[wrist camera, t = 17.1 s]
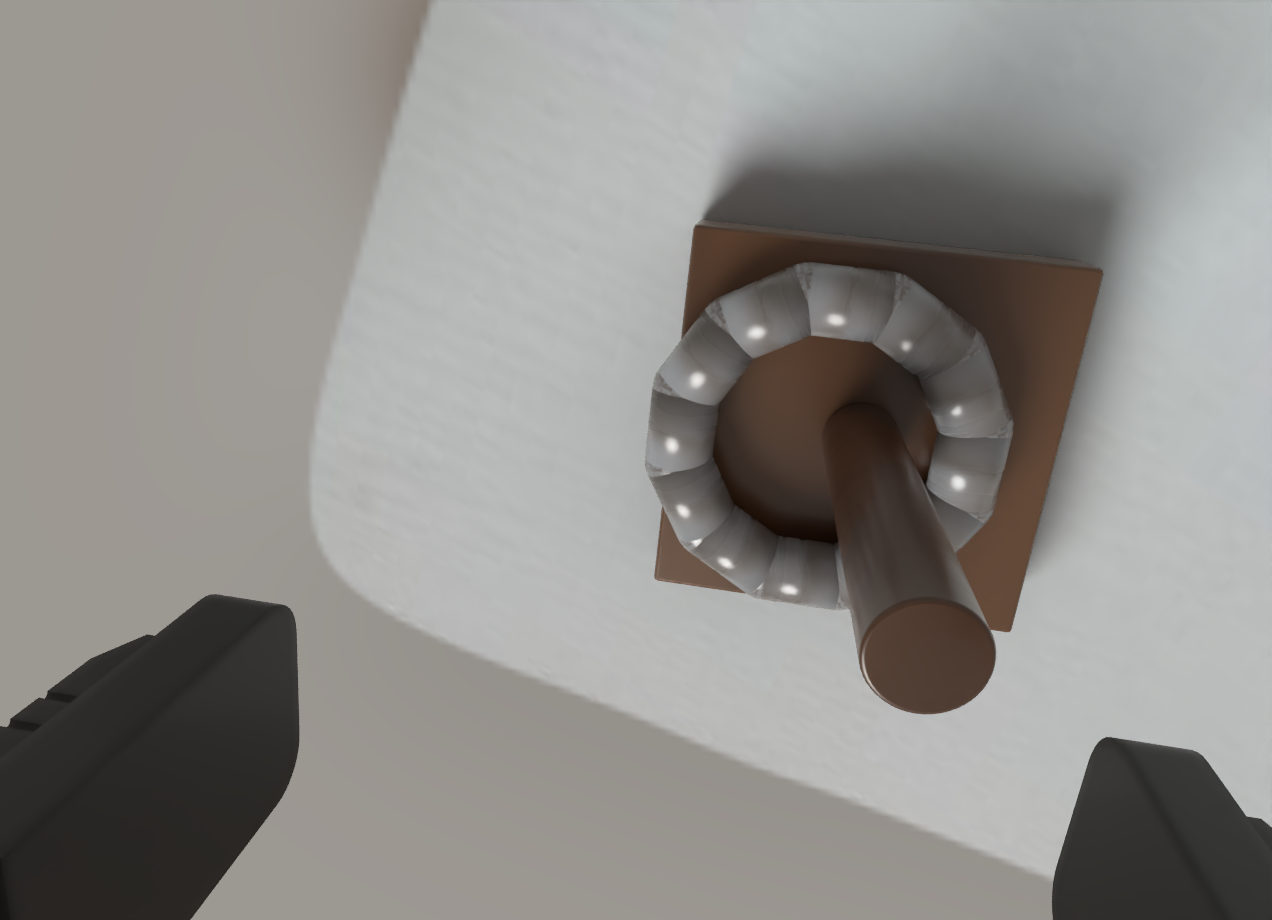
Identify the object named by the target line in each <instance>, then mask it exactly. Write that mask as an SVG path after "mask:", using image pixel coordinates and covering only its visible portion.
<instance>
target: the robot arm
mask: <svg viewBox="0 0 1272 920" xmlns="http://www.w3.org/2000/svg"><path fill="white" fill-rule="evenodd" d="M297 669H298V667H297V633H296V623H295V618H294V615H293V613H292V611H291V610H290V608H288V607H287V606H285V605H280V604H274V603H268V602H261V601H255V600H249V599H242V598H236V597H230V596H223V595H217V594H214V595H208V596H206V597H204V598H203V599H201V600H200V601H198V602H197V603H196V604H195V605H193V606H192V607H191V608H190V609H189V610H187V611H186V612H185V613H183V614H182V615H181V616H179V617H178V618H177V619H176V620H174V621H173V622H172V623H171V624H169V626H167V627H166V628H164V629H163V630H162V631H160V632H159V633H158V634H157V635H155V636H152V635H145V636H143V637H140V638H138V639H136V640H133V641H131V642H129V643H126V644H124V645H122V646H119V647H117V648H115V649H112V650H110V651H108V652H105V653H103V654H101V655H98V656H96V657H94V658H91V659H90V660H88V661H87V662H86V663H84V664H83V665H82V666H80V667H79V668H78V669H76V670H75V671H74V672H72V673H71V674H70V675H68V676H67V677H66V678H65V679H63V680H62V681H60V682H59V683H58V684H56V685H55V686H54V687H52V688H51V689H50V690H48V693H47V696H46V698H45V699H43V698H38V699H36V700H35V701H34V702H32V703H31V704H30V705H28V706H27V707H26V708H24V709H23V710H22V711H20V712H19V713H18V714H16V715H15V716H14V717H12V718H11V719H10V724H9V726H8V727H2V726H0V920H190V919H191V918H192V917H193V915H194V914H195V913H196V911H197V910H198V909H199V908H200V906H201V905H202V904H203V902H204V901H205V900H206V898H207V897H208V896H209V894H210V893H211V892H212V890H213V889H214V888H215V886H216V885H217V884H218V882H219V881H220V880H221V878H222V877H223V876H224V874H225V873H226V872H227V870H228V869H229V868H230V866H231V865H232V864H233V862H234V861H235V860H236V858H237V857H238V856H239V854H240V853H241V852H242V850H243V849H244V848H245V846H246V845H247V844H248V842H249V841H250V840H251V839H252V837H253V836H254V835H255V833H256V832H257V831H258V829H259V828H260V827H261V825H262V824H263V823H264V821H265V820H266V819H267V817H268V816H269V815H270V813H271V812H272V811H273V809H274V808H275V807H276V805H277V804H278V802H279V801H280V799H281V798H282V796H283V794H284V792H285V791H286V788H287V786H288V784H289V781H290V779H291V776H292V773H293V770H294V767H295V762H296V759H297V753H298V748H299V704H298V670H297ZM1052 894H1053V895H1052V913H1053V920H1272V827H1270V826H1269V825H1268V824H1267V823H1265V822H1264V821H1263V820H1262V819H1258V818H1252V817H1246V815H1245V814H1244V812H1243V811H1242V810H1241V808H1240V807H1239V805H1238V804H1237V803H1236V801H1235V800H1234V798H1233V797H1232V796H1231V794H1230V793H1229V791H1228V790H1227V789H1226V787H1225V786H1224V784H1223V783H1222V782H1221V780H1220V779H1219V777H1218V776H1217V774H1216V773H1215V772H1214V770H1213V769H1212V767H1211V766H1210V765H1209V763H1208V762H1207V761H1206V759H1205V758H1204V757H1203V756H1202V755H1201V754H1199V753H1198V752H1196V751H1193V750H1188V749H1181V748H1175V747H1169V746H1162V745H1156V744H1150V743H1143V742H1137V741H1131V740H1124V739H1118V738H1112V737H1106V738H1104V739H1102V740H1101V741H1099V742H1098V744H1097V745H1096V746H1095V748H1094V750H1093V752H1092V754H1091V757H1090V759H1089V762H1088V766H1087V769H1086V772H1085V775H1084V779H1083V782H1082V785H1081V788H1080V792H1079V795H1078V798H1077V801H1076V805H1075V808H1074V811H1073V815H1072V818H1071V821H1070V824H1069V828H1068V831H1067V834H1066V837H1065V841H1064V844H1063V847H1062V851H1061V854H1060V857H1059V860H1058V864H1057V867H1056V871H1055V876H1054V882H1053V892H1052Z"/></svg>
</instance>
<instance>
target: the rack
mask: <svg viewBox="0 0 1272 920" xmlns="http://www.w3.org/2000/svg"><path fill="white" fill-rule="evenodd" d="M804 262H815V263H824V264H833V265H841V266H850V267H859V268H868V269H877V270H885V271H894V272H899V273H902V274H904V275H907V276H909V277H910V278H911V279H913V280H914V281H915V282H917V283H918V284H919V285H921V286H922V287H923V288H925V289H926V290H927V291H928V292H930V293H931V294H932V295H934V296H935V297H936V298H938V299H939V300H940V301H941V302H943V303H944V304H945V305H947V306H948V307H949V308H951V309H952V310H953V311H954V312H956V313H957V314H958V315H960V316H961V317H962V318H964V319H965V320H966V321H967V322H969V323H970V324H971V325H973V326H974V327H975V328H976V329H977V330H979V332H980V333H981V334H982V335H983V337H984V339H985V341H986V343H987V346H988V349H989V352H990V354H991V357H992V360H993V363H994V366H995V369H996V371H997V374H998V377H999V380H1000V383H1001V386H1002V388H1003V391H1004V394H1005V397H1006V400H1007V403H1008V405H1009V408H1010V411H1011V414H1012V418H1013V422H1014V430H1013V436H1012V440H1011V444H1010V448H1009V453H1008V457H1007V461H1006V465H1005V469H1004V473H1003V477H1002V482H1001V486H1000V490H999V494H998V498H997V502H996V506H995V509H994V512H993V515H992V516H991V518H990V519H989V521H988V522H987V523H986V524H985V525H984V526H983V527H982V528H981V529H980V530H979V531H978V532H977V533H976V534H975V535H974V536H973V537H972V538H971V539H970V540H969V541H968V543H967V544H966V545H965V546H964V547H963V548H962V549H961V550H960V551H959V552H958V553H957V554H955V551H954V549H953V547H952V545H951V543H950V540H949V538H948V536H947V534H946V532H945V529H944V527H943V525H942V523H941V521H940V519H939V516H938V514H937V512H936V510H935V508H934V505H933V503H932V501H931V499H930V497H929V494H928V492H927V490H926V488H925V486H924V485H925V484H926V482H927V477H928V473H929V468H930V463H931V458H932V454H933V449H934V444H935V440H936V435H937V427H936V424H935V422H934V419H933V416H932V414H931V411H930V408H929V406H928V403H927V400H926V398H925V395H924V392H923V390H922V387H921V384H920V382H919V379H918V378H917V377H916V376H915V375H913V374H912V373H911V372H909V371H908V370H907V369H905V368H904V367H903V366H901V365H900V364H899V363H897V362H896V361H895V360H894V359H892V358H891V357H890V356H888V355H887V354H886V353H884V352H883V351H882V350H880V349H879V348H878V347H876V346H875V345H874V344H872V343H868V342H859V341H851V340H843V339H835V338H826V337H818V336H809V337H807V338H804V339H802V340H799V341H797V342H794V343H792V344H789V345H787V346H784V347H782V348H780V349H777V350H775V351H772V352H770V353H767V354H765V355H762V356H760V357H757V358H755V359H754V360H753V362H752V363H751V364H750V365H749V367H748V368H747V369H746V370H745V372H744V373H743V374H742V375H741V377H740V378H739V379H738V381H737V382H736V383H735V384H734V386H733V387H732V388H731V389H730V391H729V392H728V393H727V394H726V396H725V397H724V398H723V400H722V401H721V402H720V403H719V411H718V419H717V426H716V434H715V441H714V449H713V458H714V460H715V462H716V465H717V467H718V469H719V472H720V474H721V476H722V478H723V481H724V483H725V485H726V487H727V490H728V492H729V494H730V496H731V499H732V501H733V503H734V504H735V505H736V506H738V507H739V508H740V509H742V510H743V511H744V512H746V513H747V514H749V515H750V516H751V517H753V518H754V519H755V520H757V521H758V522H759V523H761V524H762V525H764V526H765V527H766V528H768V529H769V530H770V531H772V532H773V533H775V534H776V535H777V536H784V537H791V538H798V539H805V540H812V541H819V542H826V543H833V544H834V543H837V542H839V547H840V553H841V559H842V565H843V571H844V576H845V582H846V588H847V594H848V600H849V605H850V608H849V609H850V611H851V617H852V623H853V629H854V635H855V640H856V646H857V652H858V658H859V664H860V669H861V672H862V675H863V677H864V679H865V681H866V683H867V684H868V685H869V687H870V688H871V689H872V690H873V692H874V693H875V694H876V695H877V696H879V697H880V698H881V699H882V700H884V701H885V702H887V703H888V704H890V705H892V706H894V707H896V708H898V709H901V710H904V711H907V712H911V713H917V714H937V713H943V712H947V711H951V710H953V709H956V708H959V707H961V706H963V705H965V704H966V703H968V702H969V701H971V700H972V699H973V698H975V697H976V696H977V695H978V694H979V693H980V692H981V691H982V690H983V689H984V687H985V686H986V684H987V683H988V681H989V679H990V677H991V675H992V673H993V670H994V667H995V661H996V646H995V641H994V638H993V635H992V633H991V630H996V631H1003V632H1010V631H1011V629H1012V625H1013V621H1014V617H1015V613H1016V610H1017V606H1018V602H1019V598H1020V594H1021V590H1022V586H1023V582H1024V579H1025V575H1026V571H1027V567H1028V563H1029V559H1030V555H1031V552H1032V548H1033V544H1034V540H1035V536H1036V532H1037V528H1038V524H1039V521H1040V517H1041V513H1042V509H1043V505H1044V501H1045V497H1046V494H1047V490H1048V486H1049V482H1050V478H1051V474H1052V470H1053V466H1054V463H1055V459H1056V455H1057V451H1058V447H1059V443H1060V439H1061V435H1062V432H1063V428H1064V424H1065V420H1066V416H1067V412H1068V408H1069V405H1070V401H1071V397H1072V393H1073V389H1074V385H1075V381H1076V377H1077V374H1078V370H1079V366H1080V362H1081V358H1082V354H1083V350H1084V347H1085V343H1086V339H1087V335H1088V331H1089V327H1090V323H1091V319H1092V316H1093V312H1094V308H1095V304H1096V300H1097V296H1098V292H1099V288H1100V285H1101V281H1102V277H1103V270H1102V269H1100V268H1097V267H1094V266H1092V265H1089V264H1086V263H1083V262H1081V261H1077V260H1068V259H1058V258H1049V257H1040V256H1031V255H1022V254H1013V253H1004V252H994V251H985V250H976V249H967V248H958V247H949V246H940V245H930V244H921V243H912V242H903V241H894V240H885V239H876V238H866V237H857V236H848V235H839V234H830V233H821V232H811V231H802V230H793V229H784V228H775V227H766V226H757V225H747V224H738V223H729V222H720V221H711V220H700V221H699V222H698V223H697V224H696V225H695V227H694V229H693V238H692V247H691V256H690V265H689V274H688V282H687V291H686V300H685V309H684V318H683V327H682V336H681V340H682V338H683V337H684V336H685V334H686V333H687V332H688V330H689V329H690V328H691V326H692V325H693V324H694V322H695V321H696V320H697V318H698V317H699V316H700V314H701V313H702V312H703V310H704V309H705V308H706V307H707V306H708V305H709V304H710V303H711V302H712V301H713V300H715V299H716V298H719V297H720V296H723V295H725V294H727V293H730V292H732V291H734V290H737V289H739V288H741V287H744V286H746V285H748V284H751V283H753V282H755V281H758V280H760V279H762V278H765V277H767V276H769V275H772V274H774V273H776V272H779V271H781V270H783V269H786V268H788V267H790V266H793V265H795V264H798V263H804ZM654 576H655V579H656V580H659V581H666V582H673V583H679V584H686V585H693V586H699V587H706V588H713V589H720V590H726V591H733V592H740V593H745V592H744V591H742V590H741V589H740V588H738V587H737V586H736V585H734V584H733V583H731V582H730V581H729V580H727V579H726V578H725V577H723V576H722V575H720V574H719V573H718V572H716V571H715V570H713V569H712V568H711V567H709V566H708V565H707V564H705V563H704V562H702V561H701V560H700V559H698V558H697V557H695V556H694V555H693V554H691V553H690V552H689V551H687V550H686V549H685V548H684V547H683V546H682V545H681V543H680V542H679V540H678V538H677V536H676V534H675V532H674V530H673V527H672V525H671V523H670V521H669V519H668V517H667V514H666V512H665V510H664V508H663V506H662V513H661V522H660V531H659V539H658V548H657V557H656V566H655V575H654Z"/></svg>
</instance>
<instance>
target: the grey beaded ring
mask: <svg viewBox="0 0 1272 920" xmlns="http://www.w3.org/2000/svg"><path fill="white" fill-rule="evenodd" d="M809 336H818V337H826V338H835V339H843V340H851V341H859V342H868V343H872V344H874V345H875V346H876V347H878V348H879V349H880V350H882V351H883V352H884V353H886V354H887V355H888V356H890V357H891V358H892V359H894V360H895V361H896V362H897V363H899V364H900V365H901V366H903V367H904V368H905V369H907V370H908V371H909V372H911V373H912V374H913V375H915V376H916V377H917V378H918V379H919V382H920V384H921V387H922V390H923V392H924V395H925V398H926V400H927V403H928V406H929V408H930V411H931V414H932V416H933V419H934V422H935V424H936V427H937V435H936V440H935V444H934V449H933V454H932V458H931V463H930V468H929V473H928V477H927V482H926V484H925V485H924V486H925V488H926V490H927V492H928V494H929V497H930V499H931V501H932V503H933V505H934V508H935V510H936V512H937V514H938V516H939V519H940V521H941V523H942V525H943V527H944V529H945V532H946V534H947V536H948V538H949V540H950V543H951V545H952V547H953V549H954V551H955V554H957V553H958V552H959V551H960V550H961V549H962V548H963V547H964V546H965V545H966V544H967V543H968V541H969V540H970V539H971V538H972V537H973V536H974V535H975V534H976V533H977V532H978V531H979V530H980V529H981V528H982V527H983V526H984V525H985V524H986V523H987V522H988V521H989V519H990V518H991V516H992V515H993V512H994V509H995V506H996V502H997V498H998V494H999V490H1000V486H1001V482H1002V477H1003V473H1004V469H1005V465H1006V461H1007V457H1008V453H1009V448H1010V444H1011V440H1012V436H1013V430H1014V422H1013V418H1012V414H1011V411H1010V408H1009V405H1008V403H1007V400H1006V397H1005V394H1004V391H1003V388H1002V386H1001V383H1000V380H999V377H998V374H997V371H996V369H995V366H994V363H993V360H992V357H991V354H990V352H989V349H988V346H987V343H986V341H985V339H984V337H983V335H982V334H981V333H980V332H979V330H977V329H976V328H975V327H974V326H973V325H971V324H970V323H969V322H967V321H966V320H965V319H964V318H962V317H961V316H960V315H958V314H957V313H956V312H954V311H953V310H952V309H951V308H949V307H948V306H947V305H945V304H944V303H943V302H941V301H940V300H939V299H938V298H936V297H935V296H934V295H932V294H931V293H930V292H928V291H927V290H926V289H925V288H923V287H922V286H921V285H919V284H918V283H917V282H915V281H914V280H913V279H911V278H910V277H909V276H907V275H904V274H902V273H899V272H894V271H885V270H877V269H868V268H859V267H850V266H841V265H833V264H824V263H815V262H804V263H798V264H795V265H793V266H790V267H788V268H786V269H783V270H781V271H779V272H776V273H774V274H772V275H769V276H767V277H765V278H762V279H760V280H758V281H755V282H753V283H751V284H748V285H746V286H744V287H741V288H739V289H737V290H734V291H732V292H730V293H727V294H725V295H723V296H720V297H719V298H716V299H715V300H713V301H712V302H711V303H710V304H709V305H708V306H707V307H706V308H705V309H704V310H703V312H702V313H701V314H700V316H699V317H698V318H697V320H696V321H695V322H694V324H693V325H692V326H691V328H690V329H689V330H688V332H687V333H686V334H685V336H684V337H683V338H682V340H681V341H680V342H679V344H678V345H677V346H676V348H675V349H674V350H673V352H672V353H671V354H670V356H669V357H668V358H667V360H666V361H665V362H664V364H663V365H662V366H661V368H660V369H659V371H658V372H657V374H656V376H655V379H654V383H653V389H652V398H651V408H650V417H649V427H648V436H647V446H646V455H645V466H646V470H647V473H648V476H649V478H650V480H651V482H652V484H653V486H654V489H655V491H656V493H657V495H658V497H659V499H660V501H661V504H662V506H663V508H664V510H665V512H666V514H667V517H668V519H669V521H670V523H671V525H672V527H673V530H674V532H675V534H676V536H677V538H678V540H679V542H680V543H681V545H682V546H683V547H684V548H685V549H686V550H687V551H689V552H690V553H691V554H693V555H694V556H695V557H697V558H698V559H700V560H701V561H702V562H704V563H705V564H707V565H708V566H709V567H711V568H712V569H713V570H715V571H716V572H718V573H719V574H720V575H722V576H723V577H725V578H726V579H727V580H729V581H730V582H731V583H733V584H734V585H736V586H737V587H738V588H740V589H741V590H742V591H744V592H745V593H747V594H748V595H750V596H752V597H755V598H758V599H764V600H771V601H777V602H784V603H791V604H797V605H804V606H811V607H817V608H824V609H831V610H845V609H849V608H850V605H849V600H848V594H847V588H846V582H845V576H844V571H843V565H842V559H841V553H840V547H839V542H837V543H834V544H833V543H826V542H819V541H812V540H805V539H798V538H791V537H784V536H777V535H776V534H775V533H773V532H772V531H770V530H769V529H768V528H766V527H765V526H764V525H762V524H761V523H759V522H758V521H757V520H755V519H754V518H753V517H751V516H750V515H749V514H747V513H746V512H744V511H743V510H742V509H740V508H739V507H738V506H736V505H735V504H734V503H733V501H732V499H731V496H730V494H729V492H728V490H727V487H726V485H725V483H724V481H723V478H722V476H721V474H720V472H719V469H718V467H717V465H716V462H715V460H714V458H713V449H714V441H715V434H716V426H717V419H718V411H719V403H720V402H721V401H722V400H723V398H724V397H725V396H726V394H727V393H728V392H729V391H730V389H731V388H732V387H733V386H734V384H735V383H736V382H737V381H738V379H739V378H740V377H741V375H742V374H743V373H744V372H745V370H746V369H747V368H748V367H749V365H750V364H751V363H752V362H753V360H754V359H755V358H757V357H760V356H762V355H765V354H767V353H770V352H772V351H775V350H777V349H780V348H782V347H784V346H787V345H789V344H792V343H794V342H797V341H799V340H802V339H804V338H807V337H809Z"/></svg>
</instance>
